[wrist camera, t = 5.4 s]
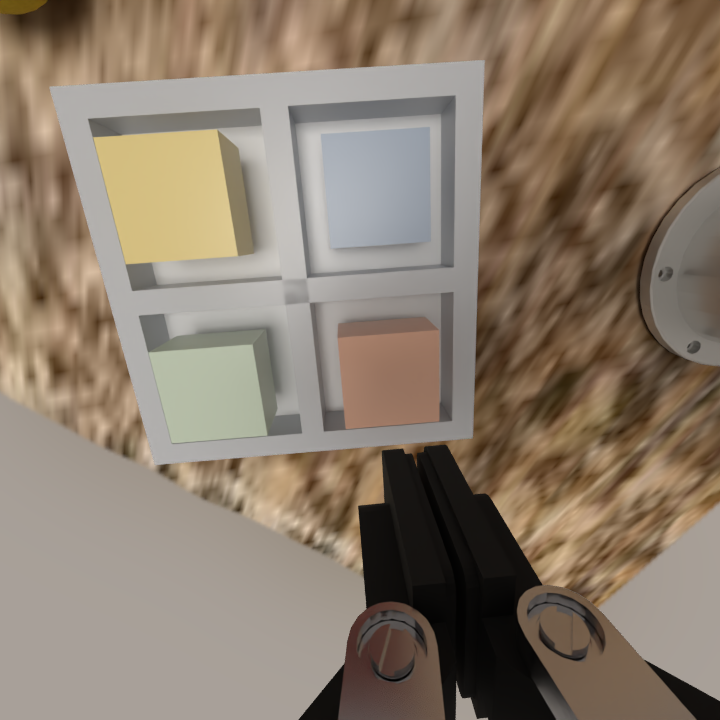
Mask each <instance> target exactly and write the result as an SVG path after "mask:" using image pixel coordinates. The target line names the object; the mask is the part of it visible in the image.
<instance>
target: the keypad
mask: <svg viewBox="0 0 720 720" xmlns="http://www.w3.org/2000/svg"><path fill="white" fill-rule="evenodd" d="M484 62H485V60H477V61H461V62H444V63H428V64H412V65H395V66H379V67H363V68H347V69H330V70H314V71H298V72H282V73H265V74H249V75H233V76H216V77H200V78H184V79H168V80H151V81H135V82H119V83H102V84H86V85H70V86H54V87H50V91H51V95H52V98H53V102H54V105H55V109H56V112H57V116H58V120H59V123H60V127H61V130H62V134H63V138H64V141H65V145H66V148H67V152H68V155H69V159H70V163H71V166H72V170H73V173H74V177H75V180H76V184H77V188H78V191H79V195H80V198H81V202H82V206H83V209H84V213H85V216H86V220H87V223H88V227H89V231H90V234H91V238H92V241H93V245H94V248H95V252H96V256H97V259H98V263H99V266H100V270H101V274H102V277H103V281H104V284H105V288H106V291H107V295H108V299H109V302H110V306H111V309H112V313H113V317H114V320H115V324H116V327H117V331H118V334H119V338H120V342H121V345H122V349H123V352H124V356H125V359H126V363H127V367H128V370H129V374H130V377H131V381H132V385H133V388H134V392H135V395H136V399H137V402H138V406H139V410H140V413H141V417H142V420H143V424H144V427H145V431H146V435H147V438H148V442H149V445H150V449H151V453H152V456H153V460H154V463H155V465H159V464H171V463H183V462H195V461H207V460H219V459H231V458H243V457H255V456H267V455H279V454H291V453H303V452H315V451H327V450H339V449H351V448H363V447H375V446H387V445H399V444H410V443H422V442H434V441H446V440H458V439H470V438H473V417H474V385H475V353H476V320H477V288H478V256H479V223H480V191H481V159H482V126H483V94H484ZM421 127H430V206H431V242H418V243H404V244H390V245H376V246H362V247H348V248H334V249H331V246H330V235H329V224H328V212H327V201H326V190H325V179H324V167H323V156H322V145H321V134H329V133H345V132H360V131H375V130H391V129H406V128H421ZM216 129H217V130H218V131H219V132H221V133H222V134H223V135H224V136H225V137H226V138H227V139H229V140H230V141H231V142H232V143H233V144H234V145H235V146H237V147H238V149H239V155H240V162H241V169H242V175H243V182H244V188H245V195H246V202H247V208H248V215H249V222H250V228H251V235H252V241H253V248H254V254H249V255H243V256H235V257H221V258H207V259H193V260H179V261H165V262H151V263H137V264H126V263H125V260H124V256H123V252H122V248H121V244H120V240H119V236H118V232H117V228H116V225H115V221H114V217H113V213H112V209H111V205H110V201H109V197H108V193H107V190H106V186H105V182H104V178H103V174H102V170H101V166H100V162H99V159H98V155H97V151H96V147H95V143H94V139H93V137H107V136H123V135H138V134H154V133H169V132H185V131H201V130H216ZM416 317H426V318H427V319H428V320H429V321H430V322H431V323H432V324H433V325H434V326H436V327H437V328H438V329H439V422H426V423H414V424H402V425H390V426H378V427H366V428H354V429H346V427H345V416H344V405H343V394H342V383H341V371H340V360H339V349H338V323H351V322H364V321H377V320H390V319H403V318H416ZM259 329H266V334H267V341H268V347H269V354H270V361H271V367H272V374H273V381H274V387H275V394H276V400H277V407H278V409H277V412H276V415H275V417H274V420H273V422H272V425H271V428H270V430H269V433H268V436H257V437H245V438H232V439H220V440H208V441H196V442H184V443H172V442H171V438H170V434H169V430H168V427H167V423H166V419H165V415H164V411H163V407H162V403H161V399H160V395H159V392H158V388H157V384H156V380H155V376H154V372H153V368H152V364H151V361H150V357H149V353H148V352H150V351H152V350H153V349H155V348H157V347H159V346H160V345H162V344H164V343H165V342H167V341H169V340H171V339H172V338H174V337H176V336H180V335H193V334H206V333H220V332H233V331H246V330H259Z"/></svg>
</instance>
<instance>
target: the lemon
mask: <svg viewBox="0 0 720 720" xmlns="http://www.w3.org/2000/svg"><path fill="white" fill-rule="evenodd" d="M47 1H48V0H0V13H1V14H17V15H19V14H24V13H28V12H31V11H35V10H36V9H38V8H39V7H41V6H42V5H44V4H45V3H46V2H47Z"/></svg>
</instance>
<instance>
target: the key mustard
mask: <svg viewBox="0 0 720 720" xmlns="http://www.w3.org/2000/svg"><path fill="white" fill-rule="evenodd" d="M93 139H94V143H95V147H96V151H97V155H98V159H99V162H100V166H101V170H102V174H103V178H104V182H105V186H106V190H107V193H108V197H109V201H110V205H111V209H112V213H113V217H114V221H115V225H116V228H117V232H118V236H119V240H120V244H121V248H122V252H123V256H124V260H125V263H126V264H137V263H151V262H165V261H179V260H193V259H207V258H221V257H235V256H243V255H249V254H254V248H253V241H252V235H251V228H250V222H249V215H248V208H247V202H246V195H245V188H244V182H243V175H242V169H241V162H240V155H239V149H238V147H237V146H235V145H234V144H233V143H232V142H231V141H230V140H229V139H227V138H226V137H225V136H224V135H223V134H222V133H221V132H219V131H218V130H217V129H216V130H201V131H185V132H169V133H154V134H138V135H123V136H107V137H93Z"/></svg>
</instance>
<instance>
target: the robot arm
mask: <svg viewBox="0 0 720 720" xmlns="http://www.w3.org/2000/svg"><path fill="white" fill-rule="evenodd" d="M640 301H641V307H642V313H643V316H644V319H645V321H646V323H647V326H648V328H649V330H650V332H651V333H652V334H653V336H654V337H655V338H656V340H657V341H658V342H659V343H660V344H661V345H662V346H663V347H665V348H666V349H667V350H668V351H670V352H671V353H673V354H676V355H678V356H680V357H682V358H684V359H687V360H690V361H693V362H697V363H700V364H703V365H711V366H720V168H719V169H717V170H715V171H714V172H712V173H711V174H709V175H708V176H706V177H705V178H703V179H702V180H701V181H699V182H698V183H696V184H695V185H694V186H693V187H692V188H691V189H690V190H689V191H688V192H687V193H686V194H685V195H683V196H682V197H681V198H680V199H679V200H678V202H677V203H676V204H675V205H674V207H673V208H672V209H671V210H670V212H669V213H668V214H667V215H666V217H665V218H664V219H663V221H662V223H661V225H660V226H659V228H658V230H657V232H656V233H655V235H654V237H653V238H652V241H651V244H650V246H649V249H648V251H647V254H646V256H645V259H644V264H643V269H642V273H641V278H640ZM382 465H383V482H384V500H385V503H382V504H371V505H361V506H358V509H359V521H360V534H361V546H362V558H363V571H364V583H365V595H366V608H367V609H366V610H365V611H364V612H363V613H362V614H360V615H359V616H358V618H357V619H356V621H355V622H354V624H353V626H352V627H351V630H350V633H349V637H348V641H347V649H346V657H345V663H344V665H343V666H342V667H341V669H340V670H339V671H338V672H337V673H336V674H335V676H334V677H333V679H331V681H330V682H329V683H328V684H327V685H326V687H325V688H324V689H323V690H322V692H321V693H320V694H319V695H318V697H317V698H316V699H315V700H314V701H313V703H312V704H311V705H310V706H309V708H308V709H307V710H306V711H305V712H304V714H303V715H302V716H301V717H300V719H299V720H455V718H456V717H455V715H456V681H457V685H458V688H459V692H460V694H461V697H462V698H470V697H471V700H472V703H473V707H474V710H475V714H476V717H477V719H479V718H487V717H488V720H720V701H718V700H717V699H715V698H713V697H711V696H709V695H707V694H706V693H704V692H702V691H700V690H698V689H697V688H695V687H693V686H691V685H689V684H688V683H686V682H684V681H682V680H680V679H678V678H677V677H675V676H673V675H671V674H669V673H667V672H666V671H664V670H662V669H660V668H658V667H657V666H655V665H653V664H651V663H649V662H647V661H646V660H644V659H643V658H642V657H641V656H640V655H639V654H638V653H637V652H636V650H634V648H633V647H632V646H631V645H630V644H629V643H628V641H627V640H626V639H625V638H624V637H623V636H622V635H621V633H620V632H619V631H618V630H617V629H616V628H615V627H614V626H613V624H612V623H611V622H610V621H609V620H608V619H607V618H606V616H605V615H604V614H603V613H602V612H601V611H600V610H599V609H598V608H596V607H595V606H594V605H593V604H592V603H591V602H590V601H588V600H587V599H585V598H584V597H582V596H580V595H579V594H577V593H575V592H573V591H570V590H568V589H565V588H563V587H557V586H551V585H542V583H541V582H540V580H539V578H538V577H537V575H536V573H535V572H534V570H533V568H532V567H531V565H530V563H529V562H528V560H527V558H526V557H525V555H524V553H523V552H522V550H521V548H520V547H519V545H518V543H517V542H516V540H515V538H514V537H513V535H512V533H511V532H510V530H509V528H508V527H507V525H506V523H505V522H504V520H503V518H502V516H501V515H500V513H499V511H498V510H497V508H496V506H495V505H494V503H493V501H492V500H491V498H490V497H489V496H488V495H487V494H475V495H473V493H472V491H471V489H470V488H469V486H468V484H467V482H466V480H465V478H464V476H463V475H462V473H461V471H460V469H459V467H458V465H457V463H456V462H455V460H454V458H453V456H452V454H451V452H450V450H449V449H448V447H447V445H437V446H426V447H424V452H422V453H417V467H416V464H415V461H414V458H413V455H412V454H405V453H404V450H403V449H393V450H382Z"/></svg>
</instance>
